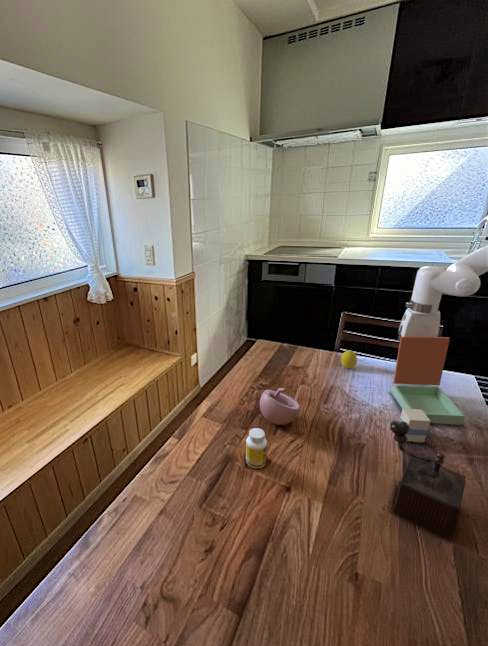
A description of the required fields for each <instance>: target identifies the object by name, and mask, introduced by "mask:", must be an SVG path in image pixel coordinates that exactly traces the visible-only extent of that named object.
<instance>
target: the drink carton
mask: <svg viewBox="0 0 488 646" xmlns="http://www.w3.org/2000/svg"><path fill="white" fill-rule="evenodd" d="M399 420H401V421H404V422H407V424H408V425H409V427H410V429H409V431H408V432H407V434H406V437H407V439H408V440H407V441H406V442H415V443H425V442H426V438H427V435H428V432H429V428H430V424H431V423H430V420H429V418H428V417H427V416H426V414H425V413H424V411H423V410H419V409H402V408H401V413H400V417H399Z"/></svg>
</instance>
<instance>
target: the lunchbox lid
mask: <svg viewBox="0 0 488 646" xmlns="http://www.w3.org/2000/svg"><path fill="white" fill-rule="evenodd" d="M450 339H451V338H450V337H448V336H447V337H445V336H437V337H401V339H400V342H399V345H398V350H397V356H396V357H397V358H396V364H395V370H394V375H393V382H392V384H393V385H419V386H441V385H440V384H441V380H442V376H443V372H444V367H445V362H446V358H447V353H448V349H449V344H450Z"/></svg>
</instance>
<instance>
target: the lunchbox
mask: <svg viewBox="0 0 488 646" xmlns="http://www.w3.org/2000/svg"><path fill="white" fill-rule="evenodd" d="M391 394H392V396H393V397H394V398H395V400H396V402H397V403H398V404H399V406H400V408H401V410H402V409H419V410H423V411H424V413H425V414H426V416H427V417H428V418H429V420H430V424H443V425H445V424H446V425H458V426H459V425H461V426H462V425H463V424H464V421H465V417H466V416H465V414H464V413H463V411H461V410H460V409H459V408H458V406H457V405H456V404H455V403H454V402H453V401H452V400H451V398H450V397H449V396H448V394H446V392H445V391H444V390H443V389H442V388H441V387H440V385H415V384H392V389H391Z"/></svg>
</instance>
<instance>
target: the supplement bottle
mask: <svg viewBox="0 0 488 646" xmlns="http://www.w3.org/2000/svg"><path fill="white" fill-rule="evenodd" d="M265 435H266V433H265V431H264V430H263V429H261V428H259V427H253V428H251V429H250V430H249V431H248V436H247V438H246V440H245V463H246V464H247V465H248V466H249V467H250V468H253V469H262V468H263V467H265V465H266V464H267V451H268V441H267V439H266V436H265Z"/></svg>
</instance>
